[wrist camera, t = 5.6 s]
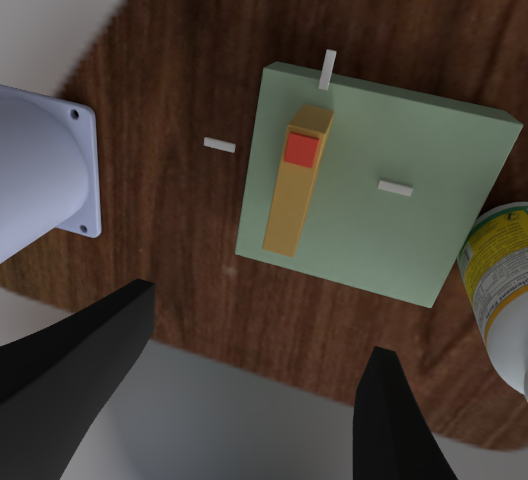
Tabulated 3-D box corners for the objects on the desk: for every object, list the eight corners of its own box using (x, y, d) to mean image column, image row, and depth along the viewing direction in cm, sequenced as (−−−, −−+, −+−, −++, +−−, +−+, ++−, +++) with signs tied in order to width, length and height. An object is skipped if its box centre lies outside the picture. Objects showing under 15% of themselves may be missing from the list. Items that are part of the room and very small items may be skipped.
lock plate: (212, 222, 23) (194, 244, 21) (234, 24, 18) (214, 25, 15) (425, 279, 22) (431, 310, 19) (518, 83, 16) (541, 94, 14)
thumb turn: (306, 219, 19) (292, 261, 16) (279, 212, 19) (260, 252, 16) (335, 110, 16) (325, 135, 13) (303, 103, 16) (286, 125, 13)
